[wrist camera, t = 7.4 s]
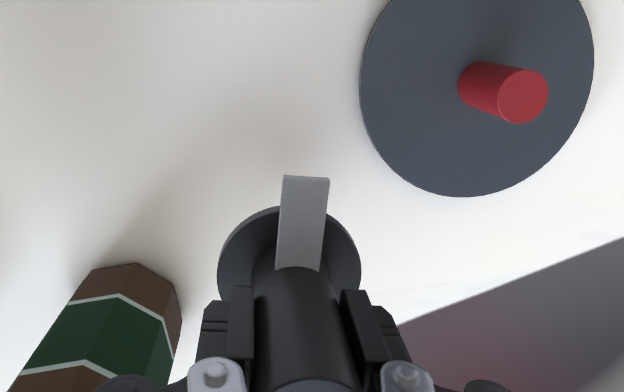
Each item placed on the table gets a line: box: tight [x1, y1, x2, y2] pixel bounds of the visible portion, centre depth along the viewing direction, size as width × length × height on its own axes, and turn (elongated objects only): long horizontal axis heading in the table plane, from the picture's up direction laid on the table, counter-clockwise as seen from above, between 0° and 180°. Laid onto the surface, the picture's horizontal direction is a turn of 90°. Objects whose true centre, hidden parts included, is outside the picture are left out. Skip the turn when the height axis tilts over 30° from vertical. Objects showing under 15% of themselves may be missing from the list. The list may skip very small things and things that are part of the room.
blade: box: [217, 175, 363, 392], centre depth 15 cm, size 9×5×8 cm, turn 174°
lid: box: [359, 0, 594, 197], centre depth 29 cm, size 15×15×7 cm
